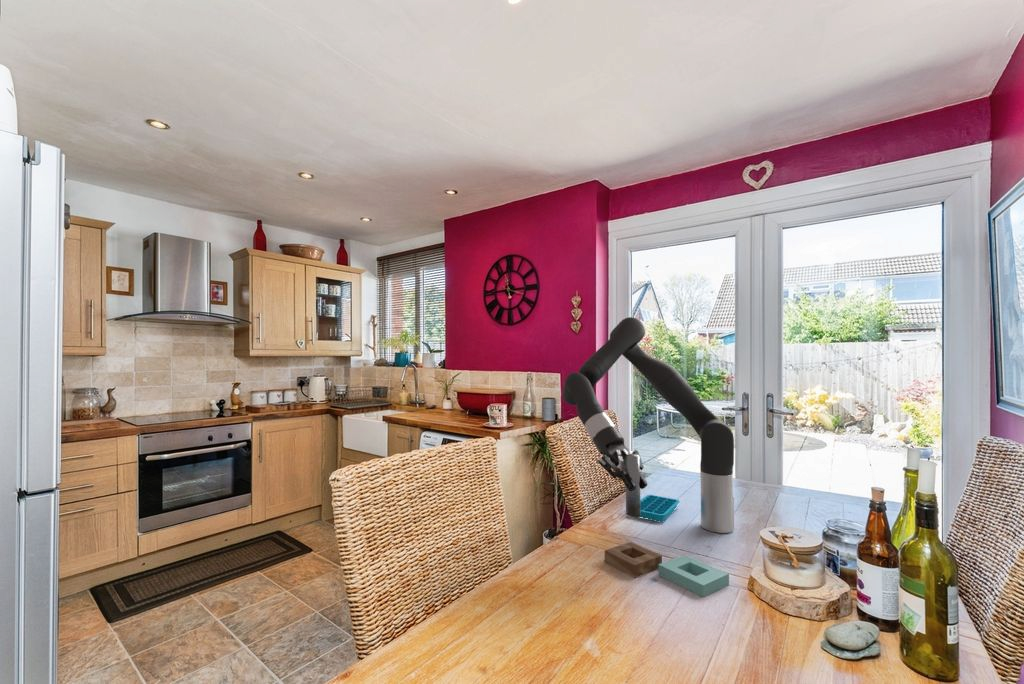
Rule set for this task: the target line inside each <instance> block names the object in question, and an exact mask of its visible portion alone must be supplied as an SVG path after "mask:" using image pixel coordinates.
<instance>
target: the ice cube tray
mask: <svg viewBox="0 0 1024 684" xmlns="http://www.w3.org/2000/svg"><path fill="white" fill-rule="evenodd" d="M680 501H681V500H680V499H676V498H671V497H665V496H660V495H655V494H646V495H645V496H644V497H642V498H640V505H641V516H639V517H643V518H648V519H652V520H656V521H660V522H659V523H663V522H662V521H664V520H665V519H666V518H667V517H668V516H669V515H670V514H671V513H672V512H673V511H674V509H675V508H676V507H677V508H678V504H679V503H680ZM674 512H675V511H674ZM674 512H673V513H674ZM673 513H672V514H673ZM672 514H671V515H672ZM671 515H670V516H671ZM670 516H669V517H670ZM669 517H668V518H669ZM668 518H667V519H668ZM667 519H666V520H667ZM666 520H665V521H666ZM656 521H655V522H656ZM665 521H664V522H665Z"/></svg>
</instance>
